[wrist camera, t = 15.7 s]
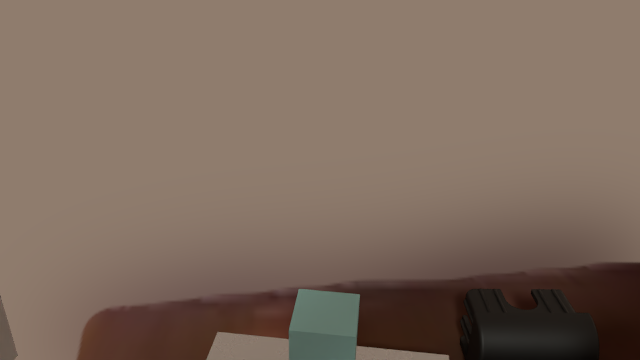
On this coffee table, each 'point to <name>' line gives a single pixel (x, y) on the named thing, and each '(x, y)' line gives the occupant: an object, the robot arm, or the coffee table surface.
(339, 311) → the teal post
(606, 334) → the coffee table surface
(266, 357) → the grey rectangular frame
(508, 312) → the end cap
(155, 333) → the coffee table surface
